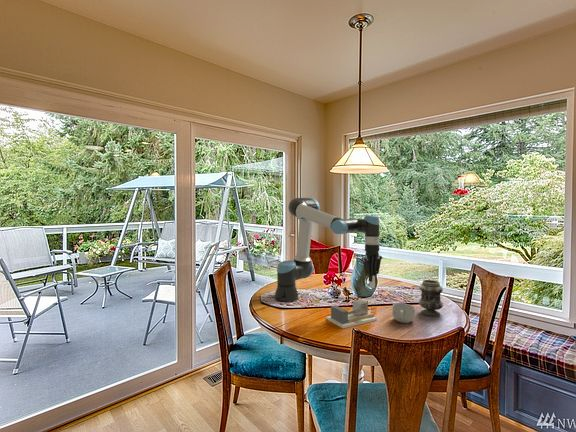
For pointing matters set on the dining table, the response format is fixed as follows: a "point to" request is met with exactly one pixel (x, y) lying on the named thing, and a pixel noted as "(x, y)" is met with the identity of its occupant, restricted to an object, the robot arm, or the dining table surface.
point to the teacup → (403, 312)
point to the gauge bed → (348, 317)
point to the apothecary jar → (430, 297)
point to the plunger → (360, 308)
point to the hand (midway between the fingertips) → (372, 287)
